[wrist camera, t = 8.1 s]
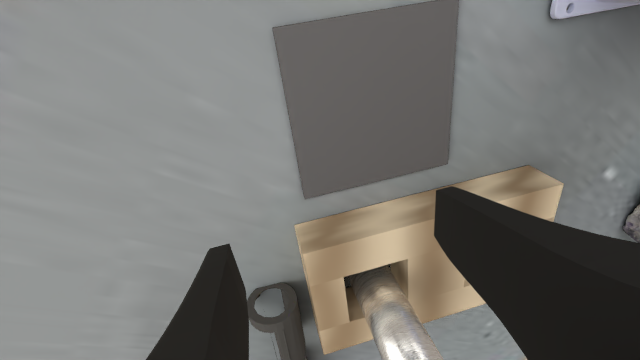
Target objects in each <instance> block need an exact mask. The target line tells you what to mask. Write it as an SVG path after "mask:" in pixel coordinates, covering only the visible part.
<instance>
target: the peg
mask: <svg viewBox="0 0 640 360" xmlns="http://www.w3.org/2000/svg"><path fill="white" fill-rule="evenodd" d="M347 277H348V279H349V281H350V284H351V286H352V288H353V291H354V293H355V295H356V298H357V300H358V303H359V305H360V307H361V310H362V312H363V314H364V317H365V319H366V321H367V324H368V326H369V329H370V331H371V333H372V336H373V338H374V340H375V343H376V345H377V347H378V350H379V352H380V355H381V357H382V359H383V360H443V358H442V356H441V355H440V353H439V351H438V350H437V348H436V346H435V345H434V343H433V341H432V339H431V338H430V336H429V334H428V333H427V331H426V329H425V328H424V326H423V324H422V323H421V321H420V319H419V318H418V316H417V314H416V312H415V311H414V309H413V307H412V306H411V304H410V302H409V301H408V299H407V297H406V296H405V294H404V292H403V291H402V289H401V287H400V286H399V284H398V282H397V280H396V279H395V277H394V275H393V274H392V272H391V270H390V269H389V267H388V265H384V266H381V267H377V268H374V269H370V270H367V271H363V272H360V273H356V274H353V275H349V276H347Z"/></svg>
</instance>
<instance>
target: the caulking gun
mask: <svg viewBox="0 0 640 360" xmlns="http://www.w3.org/2000/svg"><path fill="white" fill-rule="evenodd" d="M270 288H278V289H281V292H282V298H283V303H284V308H285V311H284V312H283V313H282V314H281V315H279V316H276V317H273V318H271V317H263V316H261V315H259V314H257V312H256V310H255V309H254V305H255V300H256V299H257V298H258V297H259V296H260V293H261V292H263V291H264V290H266V289H270ZM247 307H248V317H249V320H250V322H251V324H252V325H253V326H254V327H255V328H256V329H258V330H259V331H262V332H268V333H273V332H275V336H276V340H277V344H278V348H279V352H280V356H281V360H308V359H307V358H306V356H305V338H304V332H303V327H302V322H301V316H300V311H299V306H298V300H297V296H296V293H295V291H294V290H293V288H292V287H290V286H289V285H287V284H285V283H277V284H273V285H269V286H265V287H261V288H257V289H255V290H254V291H253V293H252V294H251V295H250V297H249V298H248V301H247ZM264 312H265V311H264ZM271 338H272V337H271ZM272 342H273V341H272ZM273 346H274V345H273ZM274 349H275V348H274ZM275 353H276V352H275ZM276 357H277V356H276Z"/></svg>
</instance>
